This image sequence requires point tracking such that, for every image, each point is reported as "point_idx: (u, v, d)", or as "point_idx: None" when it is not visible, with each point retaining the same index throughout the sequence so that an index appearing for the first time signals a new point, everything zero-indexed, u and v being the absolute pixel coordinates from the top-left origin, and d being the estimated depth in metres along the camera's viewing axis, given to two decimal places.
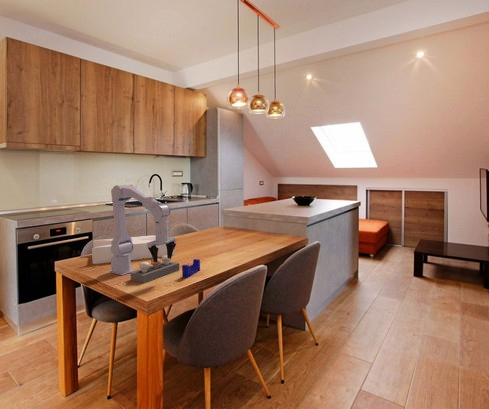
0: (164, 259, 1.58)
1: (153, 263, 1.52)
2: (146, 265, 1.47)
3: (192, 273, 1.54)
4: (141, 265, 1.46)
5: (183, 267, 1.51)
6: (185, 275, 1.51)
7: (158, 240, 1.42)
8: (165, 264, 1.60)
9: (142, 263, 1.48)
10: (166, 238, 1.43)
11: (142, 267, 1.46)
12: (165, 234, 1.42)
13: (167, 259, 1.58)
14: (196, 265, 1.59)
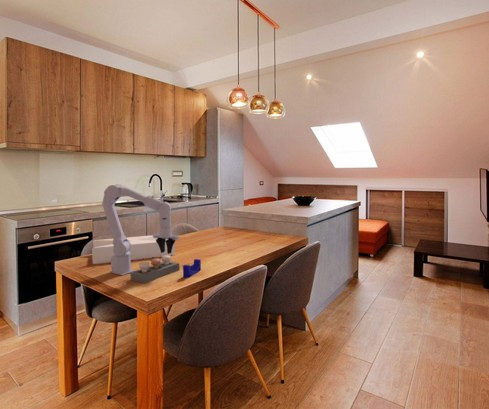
0: (164, 259, 1.58)
1: (153, 263, 1.52)
2: (146, 265, 1.47)
3: (193, 273, 1.54)
4: (141, 265, 1.46)
5: (184, 267, 1.50)
6: (186, 275, 1.51)
7: None
8: (165, 264, 1.60)
9: (142, 263, 1.48)
10: (162, 233, 1.56)
11: (142, 267, 1.46)
12: (161, 229, 1.56)
13: (167, 259, 1.58)
14: (197, 265, 1.59)
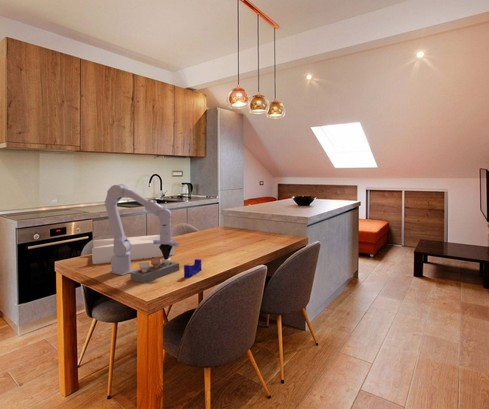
0: (164, 262, 1.58)
1: (153, 263, 1.52)
2: (146, 265, 1.47)
3: (194, 273, 1.54)
4: (141, 265, 1.46)
5: (185, 267, 1.50)
6: (187, 275, 1.50)
7: None
8: None
9: (142, 263, 1.48)
10: (163, 240, 1.57)
11: (142, 267, 1.46)
12: (161, 236, 1.57)
13: (167, 262, 1.59)
14: (197, 265, 1.59)
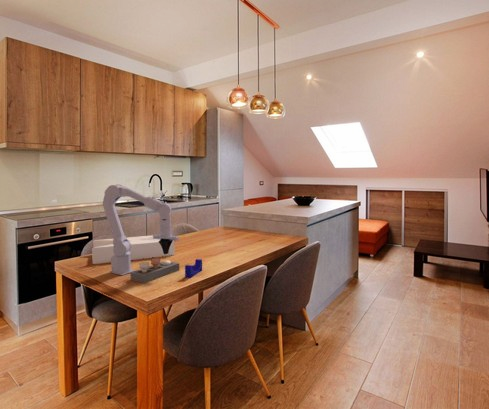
0: (164, 264, 1.58)
1: (153, 263, 1.52)
2: (146, 265, 1.47)
3: (195, 273, 1.54)
4: (141, 265, 1.46)
5: (186, 267, 1.50)
6: (188, 275, 1.50)
7: None
8: None
9: (142, 263, 1.48)
10: (162, 234, 1.56)
11: (142, 267, 1.46)
12: (161, 230, 1.56)
13: (167, 264, 1.59)
14: (198, 265, 1.59)
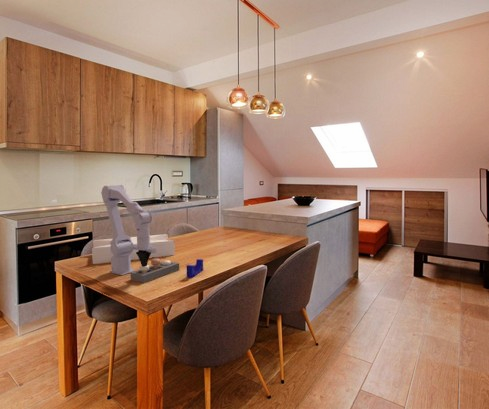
0: (164, 264, 1.58)
1: (153, 263, 1.52)
2: (146, 268, 1.47)
3: (196, 273, 1.54)
4: (141, 268, 1.47)
5: (187, 267, 1.50)
6: (189, 275, 1.50)
7: None
8: None
9: (142, 266, 1.48)
10: (139, 245, 1.45)
11: (142, 270, 1.47)
12: (138, 241, 1.45)
13: (167, 264, 1.59)
14: (199, 265, 1.59)
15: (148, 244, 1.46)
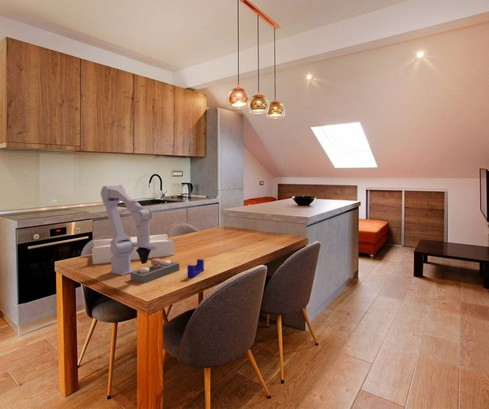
0: (164, 264, 1.58)
1: (153, 263, 1.52)
2: (146, 270, 1.47)
3: (197, 273, 1.54)
4: (141, 270, 1.47)
5: (188, 267, 1.50)
6: (190, 275, 1.50)
7: None
8: None
9: (142, 268, 1.48)
10: (139, 242, 1.45)
11: (142, 272, 1.47)
12: (138, 238, 1.45)
13: (167, 264, 1.59)
14: (200, 265, 1.59)
15: (148, 241, 1.46)
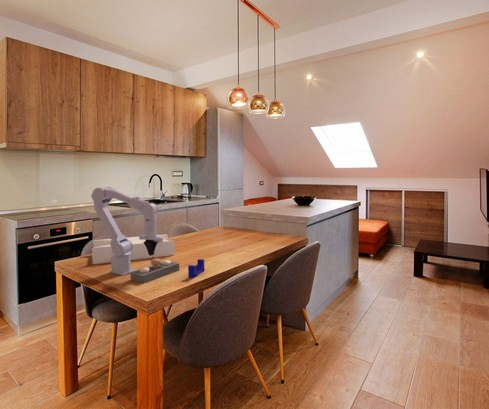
0: (164, 264, 1.58)
1: (153, 263, 1.52)
2: (146, 270, 1.47)
3: (198, 273, 1.54)
4: (141, 270, 1.47)
5: (189, 267, 1.50)
6: (191, 275, 1.50)
7: None
8: None
9: (142, 268, 1.48)
10: (146, 235, 1.52)
11: (142, 272, 1.47)
12: (145, 231, 1.52)
13: (167, 264, 1.59)
14: (201, 265, 1.59)
15: (155, 234, 1.54)
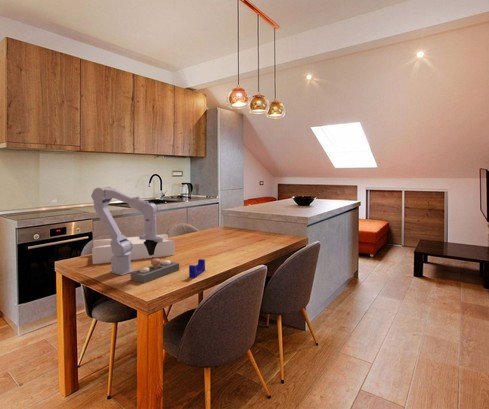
0: (164, 264, 1.58)
1: (153, 263, 1.52)
2: (146, 270, 1.47)
3: (198, 273, 1.54)
4: (141, 270, 1.47)
5: (190, 267, 1.50)
6: (192, 275, 1.50)
7: None
8: None
9: (142, 268, 1.48)
10: (146, 235, 1.52)
11: (142, 272, 1.47)
12: (145, 231, 1.52)
13: (167, 264, 1.59)
14: (201, 265, 1.59)
15: (155, 234, 1.54)
